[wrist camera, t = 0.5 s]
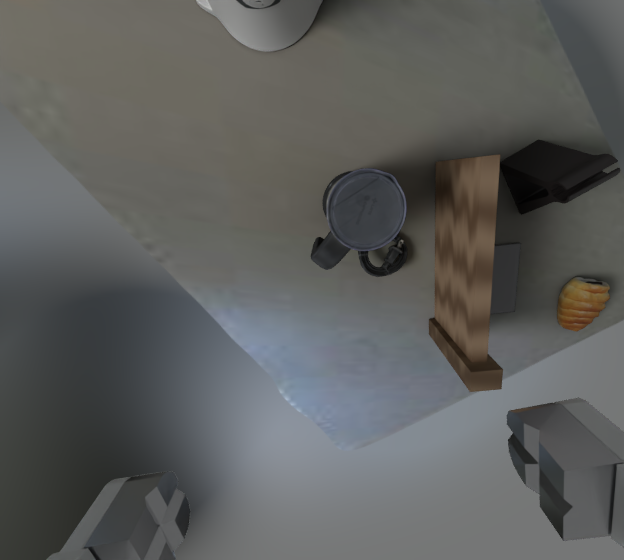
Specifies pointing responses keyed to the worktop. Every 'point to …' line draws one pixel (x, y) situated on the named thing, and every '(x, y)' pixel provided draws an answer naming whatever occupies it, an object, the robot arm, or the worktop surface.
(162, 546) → the robot arm
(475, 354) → the door panel
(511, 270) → the door mat
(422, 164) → the worktop surface
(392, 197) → the milk frother
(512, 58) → the worktop surface
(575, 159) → the phone stand
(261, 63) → the worktop surface
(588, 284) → the pastry
